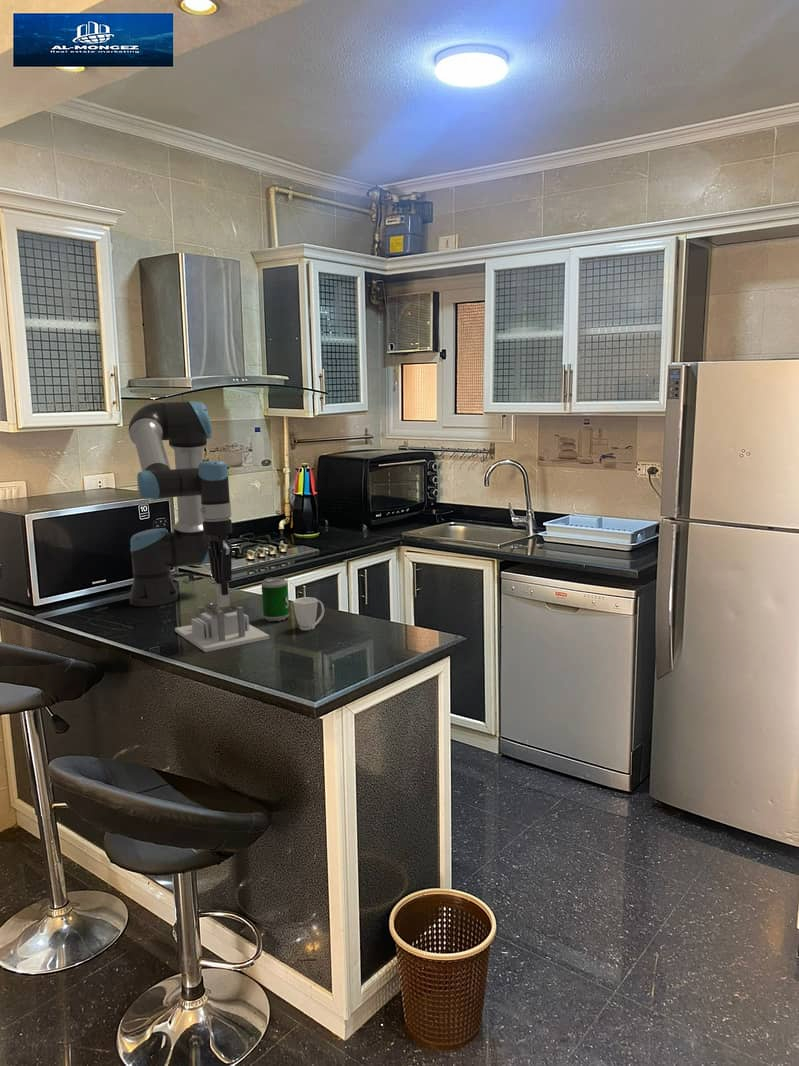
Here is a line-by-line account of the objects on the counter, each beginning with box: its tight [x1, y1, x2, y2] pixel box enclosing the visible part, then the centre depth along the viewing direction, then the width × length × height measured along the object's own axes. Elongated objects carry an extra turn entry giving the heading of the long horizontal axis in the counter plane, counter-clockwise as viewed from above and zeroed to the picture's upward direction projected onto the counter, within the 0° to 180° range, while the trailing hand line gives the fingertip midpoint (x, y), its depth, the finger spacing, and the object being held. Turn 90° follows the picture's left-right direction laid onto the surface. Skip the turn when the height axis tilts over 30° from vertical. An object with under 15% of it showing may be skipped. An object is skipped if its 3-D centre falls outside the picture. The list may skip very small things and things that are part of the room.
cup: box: [292, 597, 325, 631], centre depth 221 cm, size 7×10×8 cm
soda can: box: [261, 576, 290, 622], centre depth 230 cm, size 8×8×12 cm
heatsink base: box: [174, 606, 270, 653], centre depth 216 cm, size 24×18×9 cm
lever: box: [204, 602, 234, 614], centre depth 216 cm, size 14×3×2 cm, turn 34°
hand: (223, 605), depth 212 cm, fingers closed, pressing on lever
